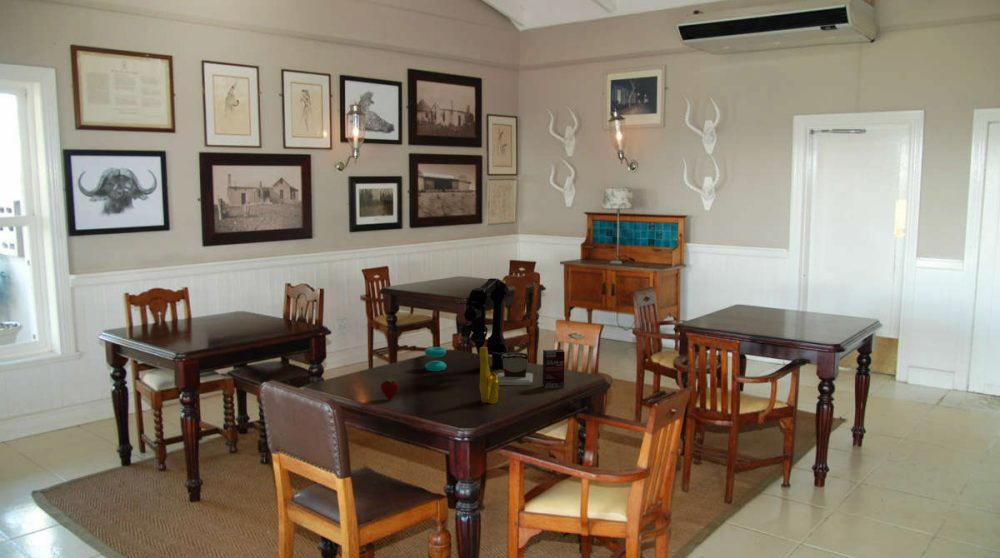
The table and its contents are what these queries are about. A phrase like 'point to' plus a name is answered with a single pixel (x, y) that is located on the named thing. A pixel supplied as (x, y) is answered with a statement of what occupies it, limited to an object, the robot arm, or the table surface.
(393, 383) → the strawberry
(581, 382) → the table surface
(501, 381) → the white square tray
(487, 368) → the yellow tall lumpy piece
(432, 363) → the donuts
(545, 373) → the supplement box
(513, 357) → the food container
